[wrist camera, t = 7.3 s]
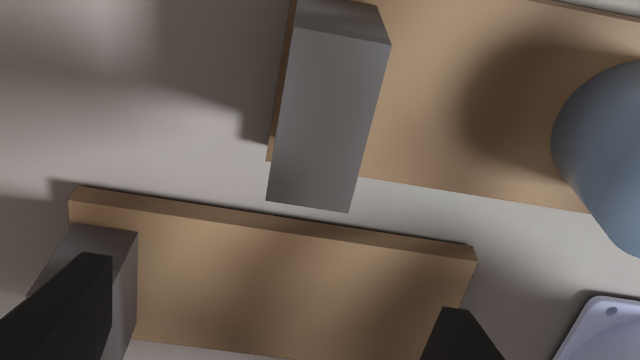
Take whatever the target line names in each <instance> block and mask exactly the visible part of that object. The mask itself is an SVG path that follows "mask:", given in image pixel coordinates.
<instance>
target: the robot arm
mask: <svg viewBox="0 0 640 360" xmlns="http://www.w3.org/2000/svg"><path fill="white" fill-rule="evenodd" d="M112 287H113V256H109V255H103V254H96V253H90V252H81V253H80V254H78V255H77V256H76V257H75V258H73V259H72V260H71V261H70V262H69V263H68V264H67V265H65V266H64V267H63V268H62V269H61V270H60V271H58V272H57V273H56V274H55V275H54V276H53V277H52V278H50V279H49V280H48V281H47V282H46V283H45V284H43V285H42V286H41V287H40V288H39V289H37V290H36V291H35V292H34V293H33V294H31V295H30V296H29V297H28V298H27V299H25V300H24V301H23V302H22V303H20V304H19V305H18V306H17V307H15V308H14V309H13V310H12V311H10V312H9V313H8V314H7V315H5V316H4V317H3V318H2V319H0V360H100V359H101V356H102V354H103V351H104V348H105V345H106V342H107V339H108V336H109V333H110V331H111V328H112ZM610 307H611V308H610ZM608 308H609V309H608ZM419 360H505V359H504V357H503V356H502V355H501V353H500V352H499V351H498V349H497V348H496V347H495V345H494V344H493V342H492V341H491V340H490V338H489V337H488V336H487V334H486V333H485V331H484V330H483V329H482V327H481V326H480V325H479V323H478V322H477V321H476V319H475V318H474V317H473V315H472V314H471V313H470V311H469V310H464V309H457V308H451V307H444V306H442V309H441V311H440V313H439V316H438V318H437V320H436V322H435V325H434V327H433V329H432V332H431V334H430V336H429V339H428V341H427V343H426V346H425V348H424V350H423V353H422V355H421V357H420V359H419ZM553 360H640V301H634V300H627V299H621V298H614V297H607V296H595V297H593V298H591V299H590V300H589V301H588V302H587V303H586V305H585V307H584V308H583V310H582V312H581V313H580V315H579V317H578V318H577V320H576V322H575V323H574V325H573V327H572V328H571V330H570V332H569V333H568V335H567V337H566V338H565V340H564V342H563V343H562V345H561V347H560V348H559V350H558V352H557V353H556V355H555V357H554V358H553Z"/></svg>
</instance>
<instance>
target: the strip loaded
mask: <svg viewBox="0 0 640 360" xmlns="http://www.w3.org/2000/svg"><path fill="white" fill-rule="evenodd" d="M638 60H640V18H637V17H632V16H627V15H622V14H617V13H613V12H608V11H603V10H598V9H593V8H588V7H583V6H578V5H573V4H568V3H563V2H558V1H553V0H291V2H290V9H289V15H288V21H287V28H286V34H285V41H284V47H283V53H282V60H281V66H280V72H279V79H278V85H277V91H276V98H275V104H274V111H273V117H272V123H271V130H270V136H269V142H268V149H267V155H266V161H268V162H271V168H270V174H269V180H268V187H267V193H266V200H265V201H272V202H278V203H285V204H291V205H297V206H304V207H310V208H317V209H323V210H329V211H336V212H342V213H348V212H349V208H350V204H351V200H352V196H353V193H354V189H355V185H356V181H357V177H358V176H360V177H366V178H372V179H378V180H384V181H391V182H397V183H403V184H409V185H415V186H421V187H427V188H434V189H440V190H446V191H452V192H458V193H464V194H470V195H476V196H483V197H489V198H495V199H501V200H507V201H513V202H519V203H526V204H532V205H538V206H544V207H550V208H556V209H562V210H568V211H575V212H581V213H587V214H591V213H590V212H589V210H588V209H587V208H586V206H585V205H584V204H583V203H582V201H581V200H580V199H579V197H578V196H577V195H576V193H575V192H574V191H573V189H572V188H571V187H570V185H569V184H568V183H567V181H566V180H565V179H564V177H563V176H562V175H561V174H560V172H559V171H558V169H557V168H556V166H555V164H554V161H553V159H552V155H551V148H550V140H551V133H552V129H553V125H554V123H555V120H556V117H557V116H558V114H559V112H560V110H561V108H562V107H563V105H564V104H565V102H566V101H567V100H568V99H569V97H570V96H571V95H572V94H573V93H574V92H575V91H576V90H577V89H578V88H579V87H580V86H581V85H583V84H584V83H585V82H586V81H588V80H589V79H590V78H592V77H594V76H595V75H597V74H599V73H600V72H602V71H604V70H606V69H608V68H611V67H613V66H616V65H619V64H622V63H626V62H630V61H638Z"/></svg>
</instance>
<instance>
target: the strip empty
mask: <svg viewBox="0 0 640 360" xmlns="http://www.w3.org/2000/svg"><path fill="white" fill-rule="evenodd" d="M68 212H69V228H70V230H69V231H68V233H67V234H66V236H65V237H64V239H63V240H62V242H61V243H60V245H59V246H58V248H57V249H56V251H55V252H54V254H53V256H52V257H51V259H50V260H49V262H48V263H47V265H46V266H45V268H44V269H43V271H42V272H41V274H40V275H39V277H38V278H37V280H36V281H35V283H34V284H33V286H32V287H31V289H30V290H29V292H28V293H27V295H26V299H27V298H28V297H29V296H30V295H31V294H33V293H34V292H35V291H36V290H37V289H39V288H40V287H41V286H42V285H43V284H45V283H46V282H47V281H48V280H49V279H50V278H52V277H53V276H54V275H55V274H56V273H57V272H58V271H60V270H61V269H62V268H63V267H64V266H65V265H67V264H68V263H69V262H70V261H71V260H72V259H73V258H75V257H76V256H77V255H78V254H80V253H81V252H90V253H96V254H103V255H109V256H113V287H112V328H111V331H110V333H109V336H108V339H107V342H106V345H105V348H104V351H103V354H102V356H101V359H100V360H123V357H124V354H125V352H126V349H127V347H128V344H129V342H130V339H137V340H145V341H153V342H161V343H168V344H176V345H184V346H192V347H200V348H208V349H215V350H223V351H231V352H239V353H247V354H255V355H262V356H270V357H278V358H286V359H294V360H419V359H420V357H421V355H422V353H423V350H424V348H425V346H426V343H427V341H428V339H429V336H430V334H431V332H432V329H433V327H434V325H435V322H436V320H437V318H438V316H439V313H440V311H441V309H442V306H444V307H451V308H457V309H458V307H459V305H460V303H461V300H462V298H463V296H464V293H465V291H466V289H467V287H468V284H469V282H470V280H471V277H472V275H473V273H474V271H475V268H476V266H477V264H478V260H477V257H476V255H475V252H474V249H473V247H472V246H467V245H461V244H454V243H447V242H441V241H434V240H428V239H421V238H415V237H408V236H402V235H395V234H389V233H382V232H376V231H369V230H363V229H356V228H350V227H343V226H337V225H330V224H324V223H317V222H310V221H304V220H297V219H291V218H284V217H278V216H271V215H265V214H258V213H252V212H245V211H239V210H232V209H226V208H219V207H213V206H206V205H200V204H193V203H187V202H180V201H173V200H167V199H160V198H154V197H147V196H141V195H134V194H128V193H121V192H115V191H108V190H102V189H95V188H89V187H82V186H78V187H77V188H76V189H75V191H74V192H73V194H72V195H71V196H70V198H69V199H68Z"/></svg>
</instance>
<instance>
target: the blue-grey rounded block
mask: <svg viewBox="0 0 640 360" xmlns="http://www.w3.org/2000/svg"><path fill="white" fill-rule="evenodd" d="M550 148H551V155H552V159H553V161H554V164H555V166H556V168H557V169H558V171H559V172H560V174H561V175H562V176H563V177H564V179H565V180H566V181H567V183H568V184H569V185H570V187H571V188H572V189H573V191H574V192H575V193H576V195H577V196H578V197H579V199H580V200H581V201H582V203H583V204H584V205H585V206H586V208H587V209H588V210H589V212H590V213H591V214H592V216H593V217H594V218H595V220H596V221H597V222H598V224H599V225H600V226H601V228H602V229H603V230H604V232H605V233H606V234H607V235H608V237H609V238H610V239H611V241H612V242H613V243H614V244H615V245H616V246H617V247H619V248H620V249H621V250H623V251H624V252H626V253H628V254H630V255H632V256H635V257H638V258H640V60H638V61H630V62H626V63H622V64H619V65H616V66H613V67H611V68H608V69H606V70H604V71H602V72H600V73H599V74H597V75H595V76H594V77H592V78H590V79H589V80H588V81H586V82H585V83H584V84H583V85H581V86H580V87H579V88H578V89H577V90H576V91H575V92H574V93H573V94H572V95H571V96H570V97H569V99H568V100H567V101H566V102H565V104H564V105H563V107H562V108H561V110H560V112H559V114H558V116H557V117H556V120H555V123H554V125H553V129H552V133H551V140H550Z"/></svg>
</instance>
